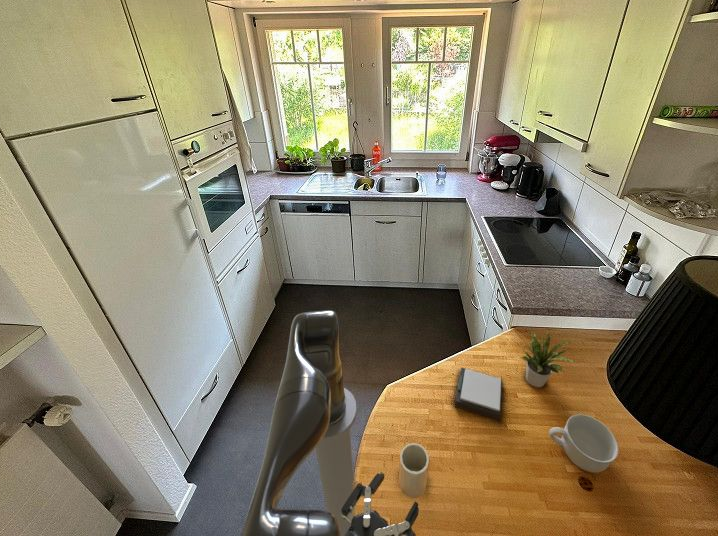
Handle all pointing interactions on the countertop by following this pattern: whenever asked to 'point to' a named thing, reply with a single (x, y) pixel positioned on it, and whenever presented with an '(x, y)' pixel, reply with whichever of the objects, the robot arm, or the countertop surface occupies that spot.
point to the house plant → (542, 361)
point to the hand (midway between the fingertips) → (399, 489)
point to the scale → (479, 393)
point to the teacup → (587, 442)
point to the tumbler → (413, 470)
